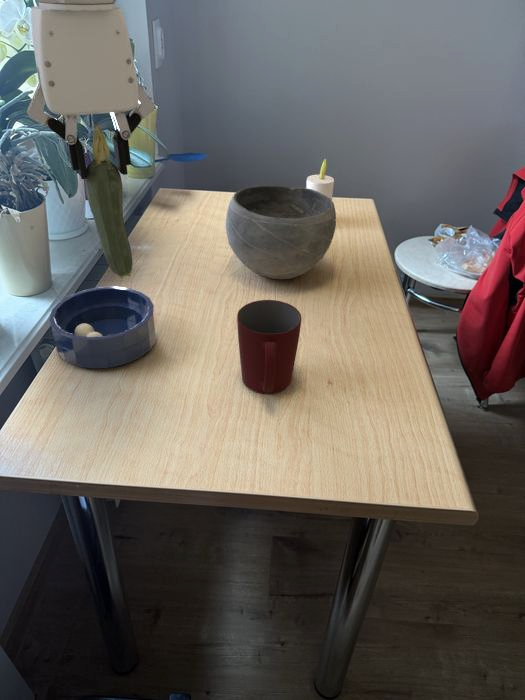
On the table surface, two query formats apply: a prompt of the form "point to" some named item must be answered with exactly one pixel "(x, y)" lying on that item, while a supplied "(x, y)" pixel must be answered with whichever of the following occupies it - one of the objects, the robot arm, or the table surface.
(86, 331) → the beige small ball
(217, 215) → the table surface
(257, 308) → the mug
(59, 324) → the mixing bowl
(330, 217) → the bowl
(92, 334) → the dumpling
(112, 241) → the vegetable
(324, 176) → the candle
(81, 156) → the robot arm
